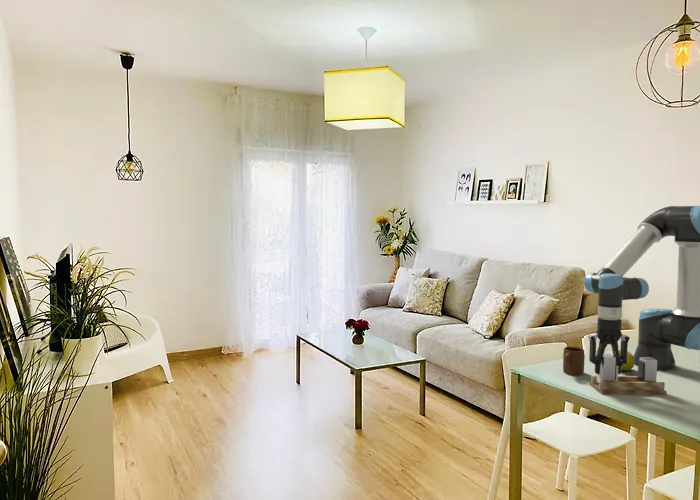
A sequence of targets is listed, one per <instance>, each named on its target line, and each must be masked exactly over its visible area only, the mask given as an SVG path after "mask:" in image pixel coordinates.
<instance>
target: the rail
mask: <svg viewBox="0 0 700 500" xmlns="http://www.w3.org/2000/svg"><path fill="white" fill-rule="evenodd" d="M590 379H591V380H589V384H590V386H591V387H592V388H593V389H594V390H596V391H597V392H598V393H600V395H631V396H632V395H633V396H634V395H643V396H644V395H647V396H649V395H651V396H652V395H653V396H656V395H657V396H658V395H659V396H667V393H668V392H667V390H665V389H666V388H665V385H666V384H665V383H666V382H664V381H656V382H639V380H638V375H635V376H634V375H618V382H605V381H599V383H598V382H597V375H591V376H590Z"/></svg>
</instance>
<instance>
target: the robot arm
mask: <svg viewBox="0 0 700 500" xmlns="http://www.w3.org/2000/svg"><path fill="white" fill-rule="evenodd" d="M636 229H637V230H636V231H635V233H633V235H632V236H631V237H630V238H629V239H628V240H627V241H626V242H625V243H624V244H623V245H622V246H621V247H620V248H619V249H618V250H617V252H615V254H614V255H612V257H611V258H610V259H608V261H607V262H606V263H605V264H604V265H603V266H602V267H601V269H599V270H598V272H590V273H588V274H586V275H585V277H584V279H583V286H584V287H585V288H584V289H585V290H586V291H588V292H589V293H594V294H596V295H598V303H597V304H598V305H597V316H598V318H597V329H596V330H597V331H596V332H595V333H594V334H588V336H587V337H588V340H589V355H588V356H589V363H592V364H593V365H594V373H595V374H596V376H597V382H598V383H599V381H602V376H603V366H602V365H601V362H602V358H603V355H604V354H605V351H606V349H607V346H608V345H610V346H611V349H612V356H614V357H616V360H617V368H616V380H615V382H618V376H619V375H620V374H621V366H622V364H626V363H627V351H628V343H629V340H630V339H631V338H630V337H629V336H628V335H626V334H623V333H622V316H623V315H622V314H623V313H622V312H623V311H622V310H623V301H628V300H639V299H643V298H646V297H647V296H648V294H649V292H650V291H649V290H650V286H649V285H650V284H649V283H648V282H647V280H645V278H642V277H636V276H635V277H624V275H626V274H627V272H629V270H630V269H632V267H633V266H634V265H635V264H636V263H637V262H638V260H640V259H641V258H642V256H643V255H645V254H646V253H647V251H648V250H649V249H650V248H652V246H653V245H654V244H655V243H659V242H660V241H661V240H662V239H663V238H667V237H674V243H675V244H677V245H678V258H677V259H678V261H677V262H678V265H677V285H676V286H677V287H676V289H677V291H676V306H675V308H674V309H673V310H672V309H671V308H646V309H641V310H640V311H639V317H638V318H639V319H638V337H637V338H638V341H637V346H636V348H635V351H634V353H633V354H632V355H633V357H634V360H635V364H634V366H637V367H638V360H640V357H652V358H654V359H656V360H657V371H670V370H674V369H675V368H676V360H675V357H674V353H673V350H672V345H673V346H678V347H682V348H686V349H687V350H695V351H700V205H685V206H684V205H680V206H679V205H669V206H665V207H662V208H660V209H658V210H656V211H653V213H651V214H649V216H647V217H646V218H645V219H643V221H642V222H640V224H638V226H637V228H636ZM597 339H598V340H599V341H598V347H597ZM619 340H620V349H619V343H618V342H619ZM619 351H620V354H619Z"/></svg>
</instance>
